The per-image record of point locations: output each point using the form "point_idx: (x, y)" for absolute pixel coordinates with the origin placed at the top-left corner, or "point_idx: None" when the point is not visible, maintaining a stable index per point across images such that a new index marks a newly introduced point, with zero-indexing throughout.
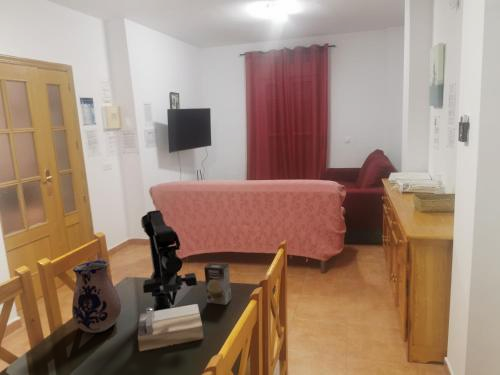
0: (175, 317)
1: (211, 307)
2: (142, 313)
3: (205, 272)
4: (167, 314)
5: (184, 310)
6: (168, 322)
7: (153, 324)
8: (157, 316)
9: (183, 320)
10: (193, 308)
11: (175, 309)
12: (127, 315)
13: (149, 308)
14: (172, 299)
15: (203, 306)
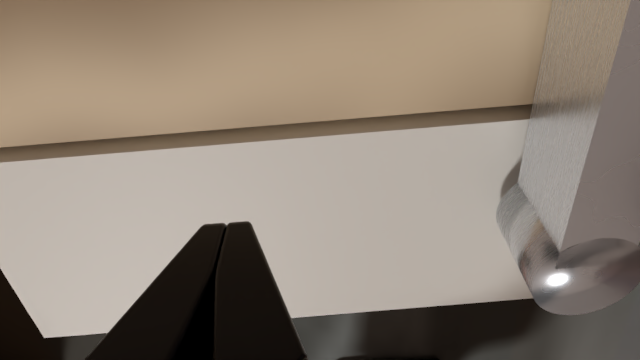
0: (244, 140)
1: (7, 325)
2: None
3: None
4: (346, 221)
5: (156, 255)
6: (329, 32)
7: (535, 34)
8: (459, 207)
9: (111, 28)
10: (58, 271)
11: None
12: (624, 343)
13: (584, 293)
14: (190, 314)
15: (80, 346)
